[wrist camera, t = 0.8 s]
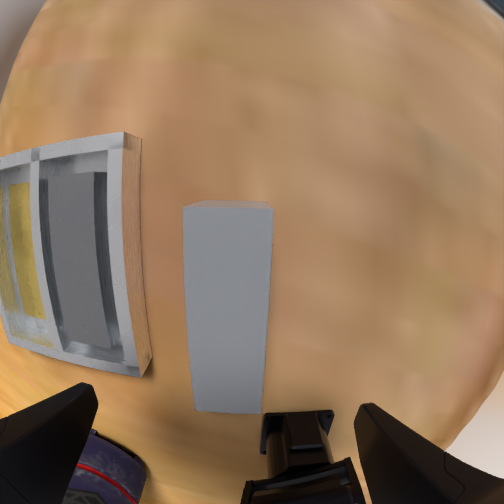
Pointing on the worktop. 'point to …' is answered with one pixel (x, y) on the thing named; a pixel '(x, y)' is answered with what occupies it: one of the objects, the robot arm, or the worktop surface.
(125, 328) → the rack
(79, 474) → the grenade
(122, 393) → the worktop surface
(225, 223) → the panel
